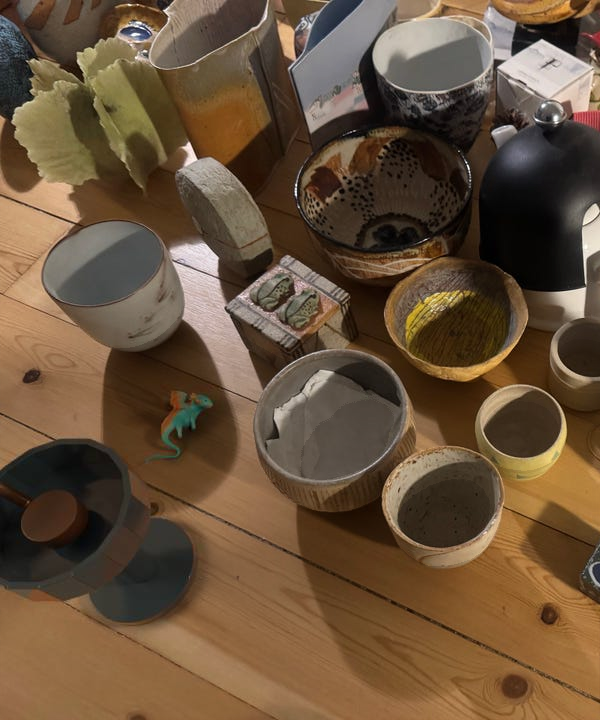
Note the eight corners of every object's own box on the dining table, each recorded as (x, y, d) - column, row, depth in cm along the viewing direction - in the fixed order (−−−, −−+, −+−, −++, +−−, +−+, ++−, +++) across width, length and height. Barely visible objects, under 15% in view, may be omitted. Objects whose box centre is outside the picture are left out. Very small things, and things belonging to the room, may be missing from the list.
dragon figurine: (215, 458, 81) (214, 388, 82) (144, 462, 78) (144, 390, 79) (212, 461, 87) (210, 396, 88) (145, 465, 84) (145, 398, 85)
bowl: (59, 571, 76) (-59, 509, 60) (167, 488, 80) (84, 410, 65) (120, 666, 70) (9, 625, 55) (232, 571, 75) (159, 509, 59)
